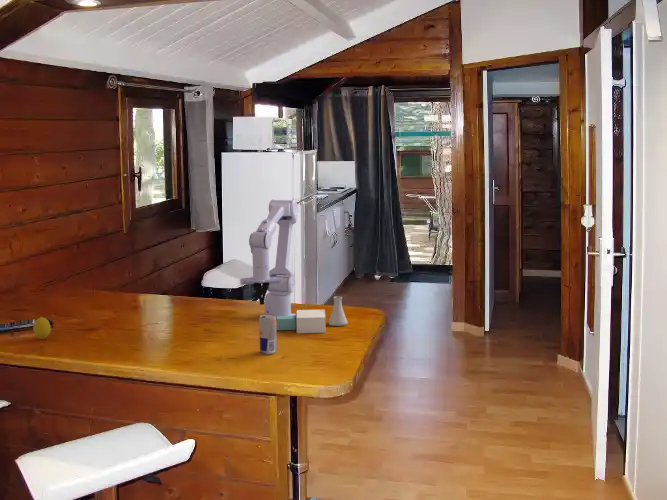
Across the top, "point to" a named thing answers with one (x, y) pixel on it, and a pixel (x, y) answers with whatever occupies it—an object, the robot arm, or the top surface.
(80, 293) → the top surface
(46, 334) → the lemon
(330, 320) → the flask
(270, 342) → the energy drink
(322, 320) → the socket block
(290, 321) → the peg
